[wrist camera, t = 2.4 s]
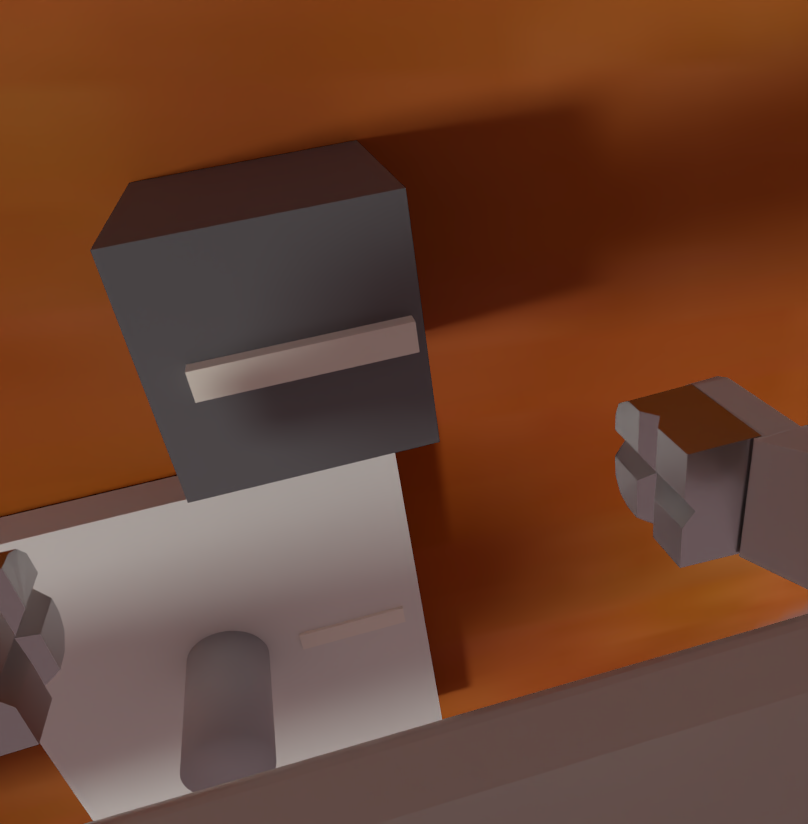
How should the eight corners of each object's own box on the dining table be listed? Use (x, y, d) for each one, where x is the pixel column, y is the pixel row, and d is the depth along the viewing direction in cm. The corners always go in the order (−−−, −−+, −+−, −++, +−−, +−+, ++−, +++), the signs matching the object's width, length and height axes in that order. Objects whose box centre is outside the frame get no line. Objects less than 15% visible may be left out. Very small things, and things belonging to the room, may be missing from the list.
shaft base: (-66, 533, 18) (-150, 682, 14) (385, 426, 19) (427, 533, 15) (103, 793, 24) (78, 946, 20) (434, 697, 25) (473, 823, 22)
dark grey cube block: (129, 183, 15) (87, 255, 10) (356, 140, 15) (409, 191, 11) (197, 384, 17) (187, 512, 13) (389, 341, 18) (443, 449, 14)
